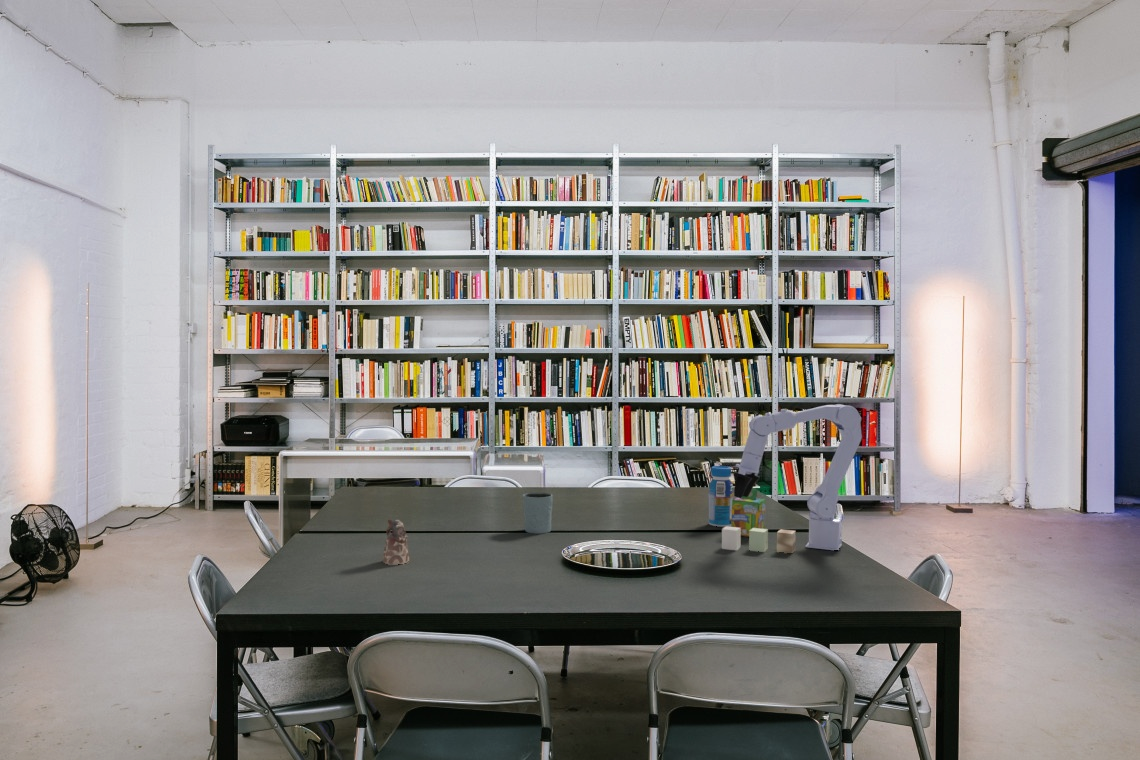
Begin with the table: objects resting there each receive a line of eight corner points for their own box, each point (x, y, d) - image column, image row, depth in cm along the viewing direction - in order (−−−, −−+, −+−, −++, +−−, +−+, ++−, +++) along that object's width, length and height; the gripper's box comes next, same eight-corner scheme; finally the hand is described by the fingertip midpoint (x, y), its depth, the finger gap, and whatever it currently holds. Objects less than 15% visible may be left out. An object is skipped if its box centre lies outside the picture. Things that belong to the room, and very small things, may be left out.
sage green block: (767, 549, 231) (767, 529, 231) (764, 552, 227) (764, 532, 227) (752, 547, 233) (753, 527, 233) (749, 550, 229) (749, 530, 229)
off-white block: (740, 547, 233) (740, 527, 233) (736, 550, 229) (736, 530, 229) (726, 545, 235) (726, 526, 235) (721, 548, 231) (721, 529, 231)
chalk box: (730, 535, 248) (731, 490, 248) (738, 529, 257) (738, 485, 256) (759, 538, 244) (759, 492, 244) (765, 532, 252) (766, 488, 252)
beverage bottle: (703, 524, 265) (703, 466, 264) (719, 521, 270) (720, 464, 269) (721, 528, 258) (722, 469, 257) (738, 525, 263) (738, 467, 262)
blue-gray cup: (540, 535, 247) (541, 498, 247) (516, 531, 253) (516, 495, 252) (558, 529, 255) (558, 493, 255) (534, 525, 261) (534, 490, 261)
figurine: (396, 566, 209) (396, 523, 209) (377, 563, 213) (377, 520, 213) (414, 561, 215) (414, 518, 215) (395, 557, 219) (395, 515, 219)
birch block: (795, 550, 229) (795, 530, 229) (792, 554, 225) (792, 533, 225) (780, 549, 231) (780, 529, 231) (776, 552, 227) (777, 532, 227)
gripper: (746, 450, 242) (734, 491, 242) (734, 449, 229) (721, 493, 229) (768, 457, 238) (756, 498, 239) (756, 456, 226) (744, 500, 226)
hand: (740, 496), depth 234 cm, fingers open, 7 cm apart
